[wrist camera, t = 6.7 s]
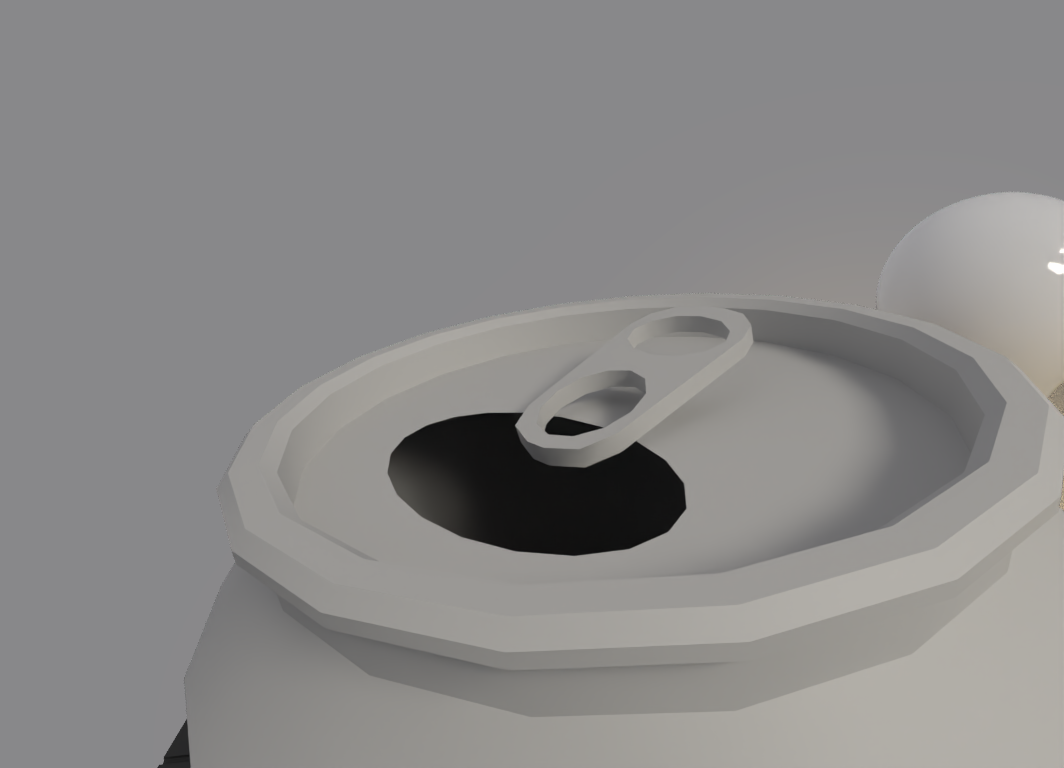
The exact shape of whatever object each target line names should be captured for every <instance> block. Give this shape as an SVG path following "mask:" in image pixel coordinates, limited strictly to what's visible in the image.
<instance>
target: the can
mask: <svg viewBox="0 0 1064 768" xmlns="http://www.w3.org/2000/svg"><path fill="white" fill-rule="evenodd" d="M1063 474H1064V416H1063V415H1062V414H1061V413H1060V412H1059V410H1058V409H1057V408H1056V407H1055V406H1054V405H1053V404H1052V403H1051V402H1050V401H1049V400H1048V398H1047V397H1046V396H1045V395H1044V394H1043V393H1042V392H1041V391H1040V390H1039V389H1038V388H1037V386H1036V385H1035V384H1034V383H1033V382H1032V381H1031V380H1030V379H1029V378H1028V377H1027V375H1026V374H1025V373H1024V372H1023V371H1022V370H1021V369H1020V368H1019V367H1018V366H1017V365H1015V364H1014V363H1013V362H1012V361H1010V360H1009V359H1008V358H1007V357H1005V356H1003V355H1001V354H999V353H997V352H995V351H993V350H991V349H988V348H986V347H984V346H982V345H980V344H978V343H975V342H973V341H971V340H969V339H967V338H965V337H963V336H960V335H958V334H956V333H954V332H952V331H950V330H947V329H945V328H943V327H941V326H939V325H937V324H933V323H929V322H925V321H921V320H917V319H913V318H909V317H905V316H901V315H897V314H892V313H888V312H884V311H880V310H876V309H872V308H868V307H864V306H860V305H853V304H845V303H837V302H828V301H820V300H812V299H803V298H795V297H787V296H776V295H744V294H715V293H714V294H712V293H697V294H696V293H695V294H671V295H649V296H648V295H646V296H627V297H618V298H609V299H600V300H592V301H581V302H573V303H563V304H556V305H550V306H545V307H539V308H534V309H528V310H523V311H517V312H511V313H506V314H500V315H495V316H490V317H486V318H482V319H478V320H475V321H470V322H467V323H463V324H459V325H455V326H451V327H447V328H443V329H439V330H436V331H432V332H428V333H424V334H421V335H418V336H416V337H413V338H410V339H408V340H405V341H402V342H399V343H396V344H393V345H391V346H388V347H385V348H382V349H380V350H377V351H374V352H371V353H369V354H366V355H363V356H360V357H358V358H356V359H354V360H352V361H350V362H349V363H346V364H345V365H342V366H341V367H339V368H337V369H335V370H333V371H331V372H329V373H327V374H325V375H323V376H321V377H319V378H317V379H315V380H313V381H311V382H309V383H307V384H305V385H303V386H301V387H300V388H299V389H298V390H296V391H295V392H294V393H293V394H291V395H290V396H289V397H288V398H286V399H285V400H284V401H283V402H281V403H280V404H279V405H278V406H276V407H275V408H274V409H273V410H272V411H270V412H269V413H268V414H267V415H265V416H264V417H263V418H262V419H260V420H259V421H258V422H257V423H255V424H254V425H253V427H252V428H251V429H250V430H249V432H248V433H247V434H246V436H245V437H244V439H243V441H242V443H241V445H240V446H239V448H238V450H237V452H236V454H235V456H234V458H233V459H232V461H231V463H230V465H229V467H228V468H227V470H226V472H225V474H224V476H223V478H222V480H221V481H220V483H219V485H218V487H217V493H218V497H219V501H220V506H221V510H222V514H223V518H224V522H225V526H226V530H227V534H228V538H229V542H230V546H231V550H232V553H233V556H234V559H235V563H234V565H233V567H232V568H231V570H230V572H229V573H228V575H227V577H226V578H225V580H224V582H223V583H222V585H221V588H220V590H219V592H218V595H217V597H216V600H215V602H214V605H213V608H212V610H211V613H210V615H209V618H208V620H207V623H206V625H205V628H204V631H203V633H202V635H201V638H200V640H199V643H198V645H197V648H196V650H195V653H194V655H193V658H192V660H191V663H190V665H189V668H188V671H187V673H186V675H185V678H184V683H185V696H186V710H187V724H188V737H189V751H190V765H191V768H1064V511H1063V510H1062V509H1061V508H1060V507H1059V506H1060V500H1061V494H1062V484H1063Z"/></svg>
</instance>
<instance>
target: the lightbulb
mask: <svg viewBox="0 0 1064 768" xmlns="http://www.w3.org/2000/svg"><path fill="white" fill-rule="evenodd" d="M876 310H880V311H884V312H888V313H892V314H897V315H901V316H905V317H909V318H913V319H917V320H921V321H925V322H929V323H933V324H937V325H939V326H941V327H943V328H945V329H947V330H950V331H952V332H954V333H956V334H958V335H960V336H963V337H965V338H967V339H969V340H971V341H973V342H975V343H978V344H980V345H982V346H984V347H986V348H988V349H991V350H993V351H995V352H997V353H999V354H1001V355H1003V356H1005V357H1007V358H1008V359H1009V360H1010V361H1012V362H1013V363H1014V364H1015V365H1017V366H1018V367H1019V368H1020V369H1021V370H1022V371H1023V372H1024V373H1025V374H1026V375H1027V377H1028V378H1029V379H1030V380H1031V381H1032V382H1033V383H1034V384H1035V385H1036V386H1037V388H1038V389H1039V390H1040V391H1041V392H1042V393H1043V394H1044V395H1045V396H1046V397H1047V398H1049V396H1050V395H1051V394H1052V393H1053V392H1054V391H1055V390H1056V389H1057V388H1058V387H1059V386H1060V385H1061V384H1062V383H1064V201H1063V200H1060V199H1057V198H1054V197H1050V196H1045V195H1041V194H1035V193H1026V192H1000V193H992V194H985V195H980V196H976V197H972V198H968V199H965V200H962V201H959V202H956V203H954V204H951V205H949V206H947V207H945V208H942V209H941V210H939V211H937V212H935V213H933V214H932V215H930V216H928V217H927V218H925V219H924V220H922V221H921V222H920V223H919V224H917V225H916V226H915V227H914V228H912V229H911V230H910V231H909V232H908V233H907V234H906V235H905V236H904V237H903V238H902V239H901V241H900V242H899V243H898V244H897V246H896V247H895V248H894V250H893V251H892V253H891V254H890V256H889V258H888V259H887V261H886V263H885V266H884V268H883V270H882V273H881V276H880V279H879V282H878V288H877V296H876Z"/></svg>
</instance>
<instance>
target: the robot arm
mask: <svg viewBox="0 0 1064 768" xmlns="http://www.w3.org/2000/svg"><path fill="white" fill-rule="evenodd" d="M158 768H191V765H190V751H189V737H188V724H187V720H186V721H185V723H184V725H183V727H182V728H181V730H180V731H179V733H178V735H177V736H176V738H175V740H174V741H173V743H172V745H171V746H170V748H169V750H168V751H167V753H166V755H165V756H164V763H163V765H159V766H158Z"/></svg>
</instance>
